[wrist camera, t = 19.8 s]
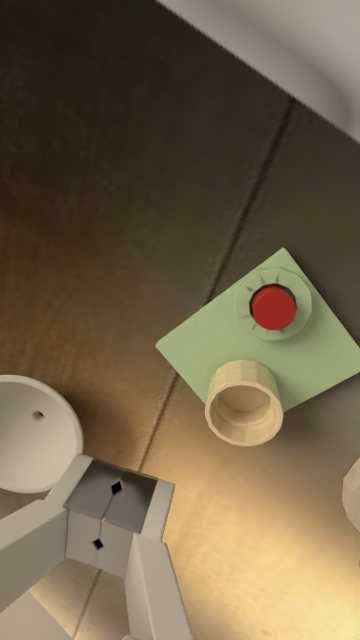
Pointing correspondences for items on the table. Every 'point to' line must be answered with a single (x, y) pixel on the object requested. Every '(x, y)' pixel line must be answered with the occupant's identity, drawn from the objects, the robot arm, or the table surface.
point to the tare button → (273, 308)
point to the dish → (35, 435)
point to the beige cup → (244, 403)
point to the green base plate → (265, 337)
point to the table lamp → (352, 494)
